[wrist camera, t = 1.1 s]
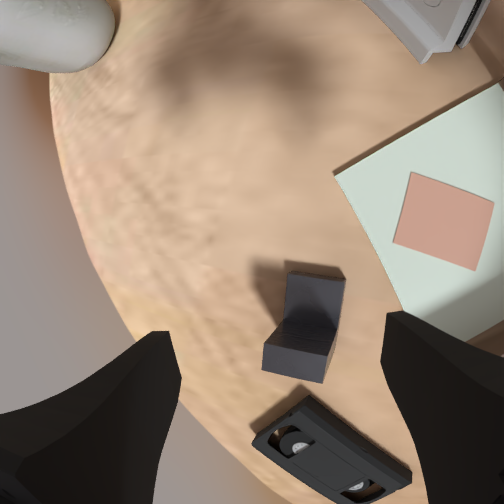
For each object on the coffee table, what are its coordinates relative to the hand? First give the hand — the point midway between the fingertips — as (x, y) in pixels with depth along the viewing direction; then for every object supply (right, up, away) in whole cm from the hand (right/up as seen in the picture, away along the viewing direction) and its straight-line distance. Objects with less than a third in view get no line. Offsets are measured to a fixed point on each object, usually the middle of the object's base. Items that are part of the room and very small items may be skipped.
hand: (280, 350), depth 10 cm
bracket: (+4, -1, +13) cm, 13 cm away
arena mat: (+15, +5, +7) cm, 17 cm away
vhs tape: (+7, -16, +15) cm, 23 cm away
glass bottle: (-18, +27, +17) cm, 37 cm away
